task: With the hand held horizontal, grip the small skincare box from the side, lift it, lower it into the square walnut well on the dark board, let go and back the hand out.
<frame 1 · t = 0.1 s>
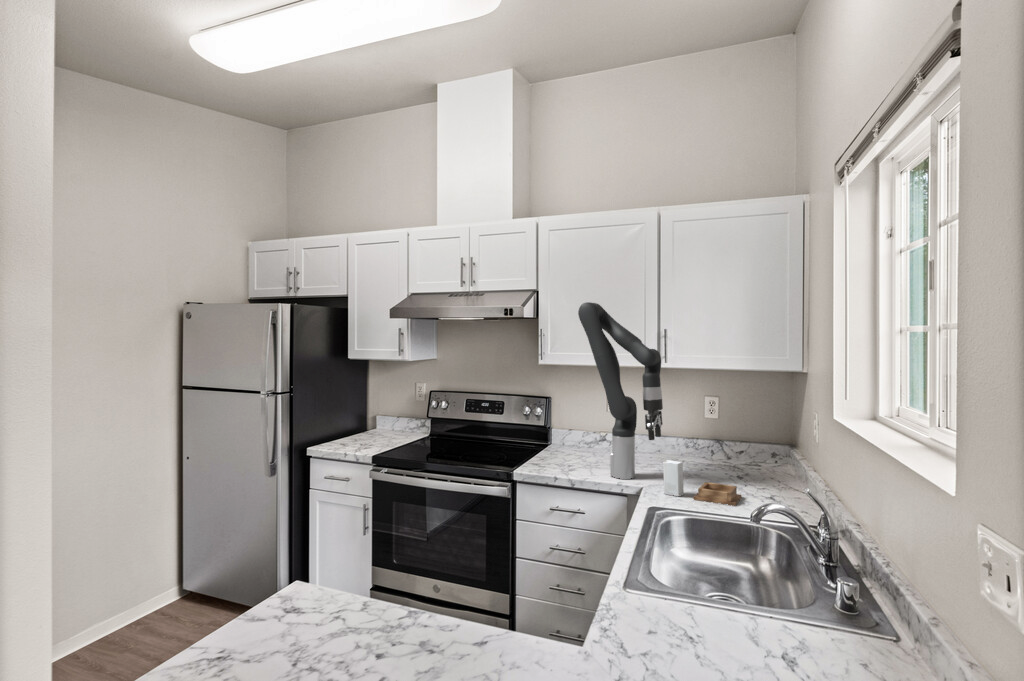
hand: (655, 438, 222), 17 cm above the counter, tool pointing down, fingers open, 8 cm apart
walnut well board: (717, 498, 198), on the counter
skincare box: (673, 495, 204), on the counter
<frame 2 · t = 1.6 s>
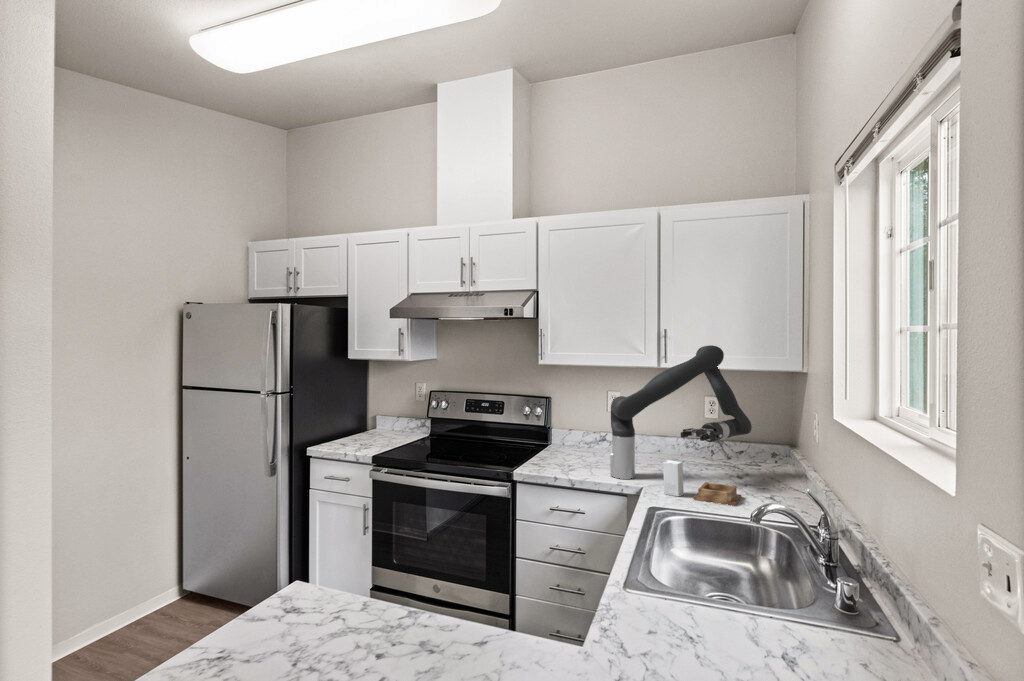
hand: (691, 436, 210), 20 cm above the counter, tool horizontal, fingers open, 8 cm apart
nothing on the counter moved.
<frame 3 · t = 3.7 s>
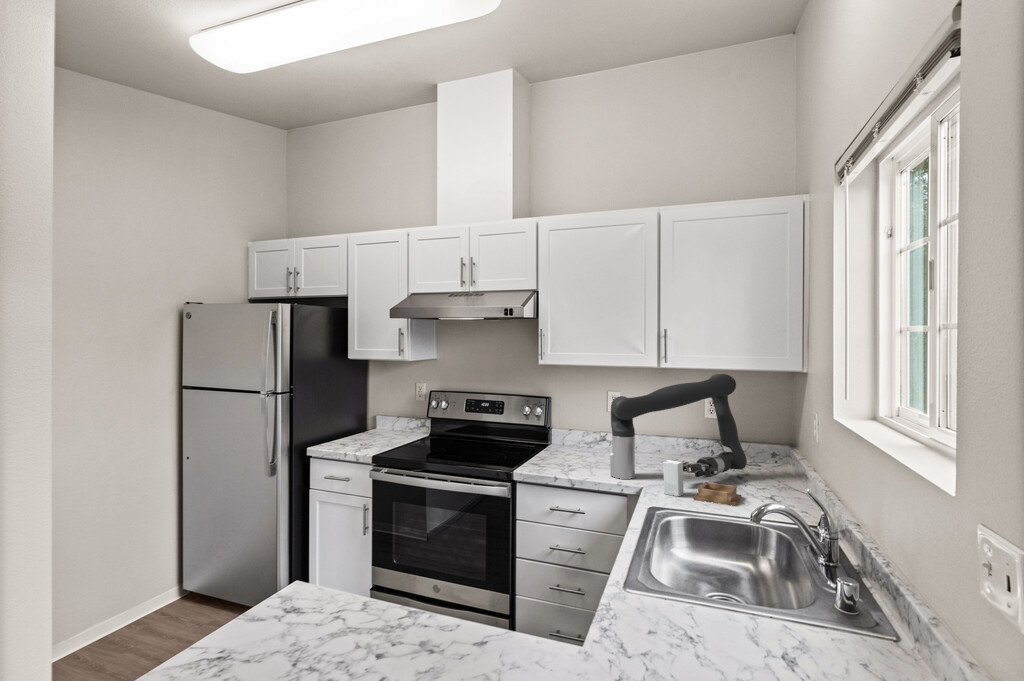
hand: (685, 472, 208), 7 cm above the counter, tool horizontal, fingers open, 8 cm apart
nothing on the counter moved.
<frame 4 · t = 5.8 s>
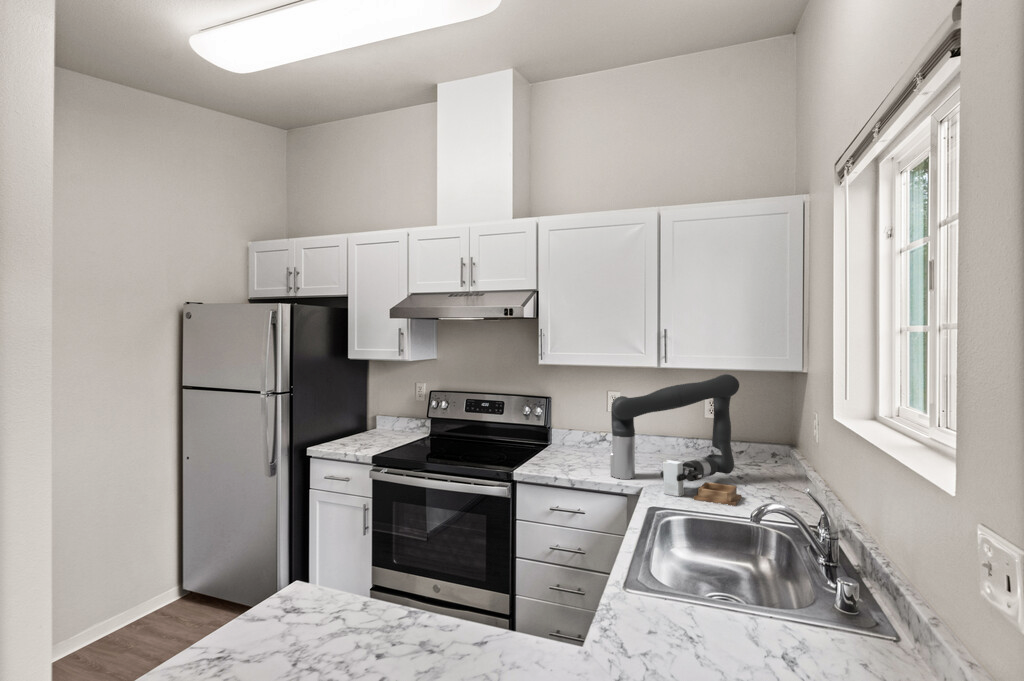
hand: (669, 476, 202), 7 cm above the counter, tool horizontal, fingers closed on skincare box, 6 cm apart
skincare box: (673, 495, 203), on the counter, touching gripper
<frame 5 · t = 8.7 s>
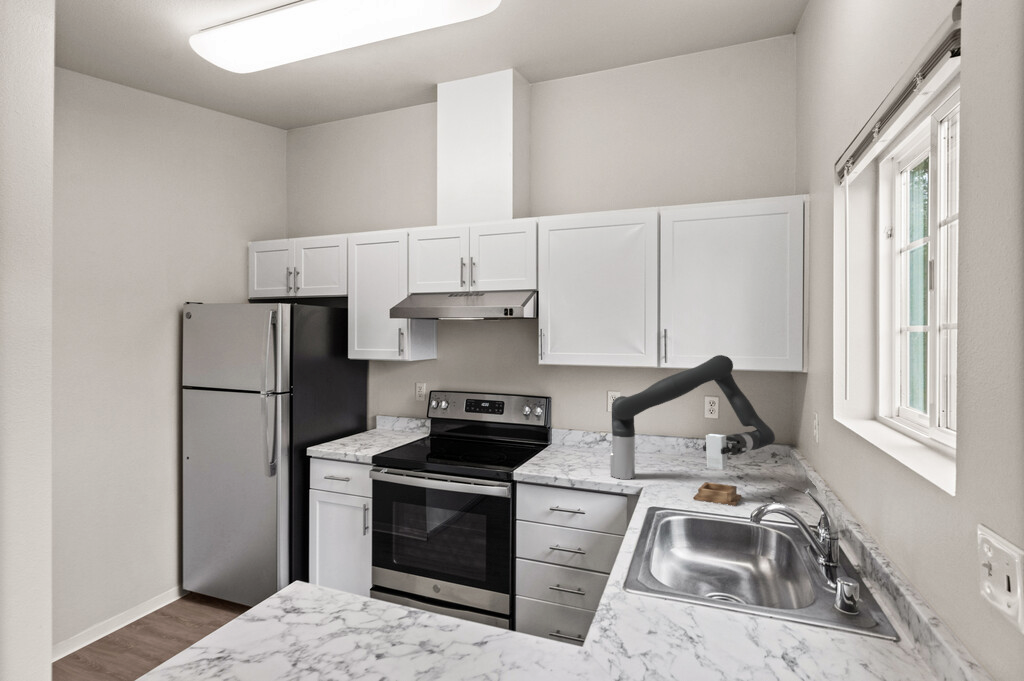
hand: (712, 449, 197), 18 cm above the counter, tool horizontal, fingers closed on skincare box, 6 cm apart
skincare box: (716, 469, 198), point 11 cm above the counter, touching gripper
when the fingers open (9 cm above the counter, at t = 11.4 s): skincare box drops 1 cm, resting on walnut well board.
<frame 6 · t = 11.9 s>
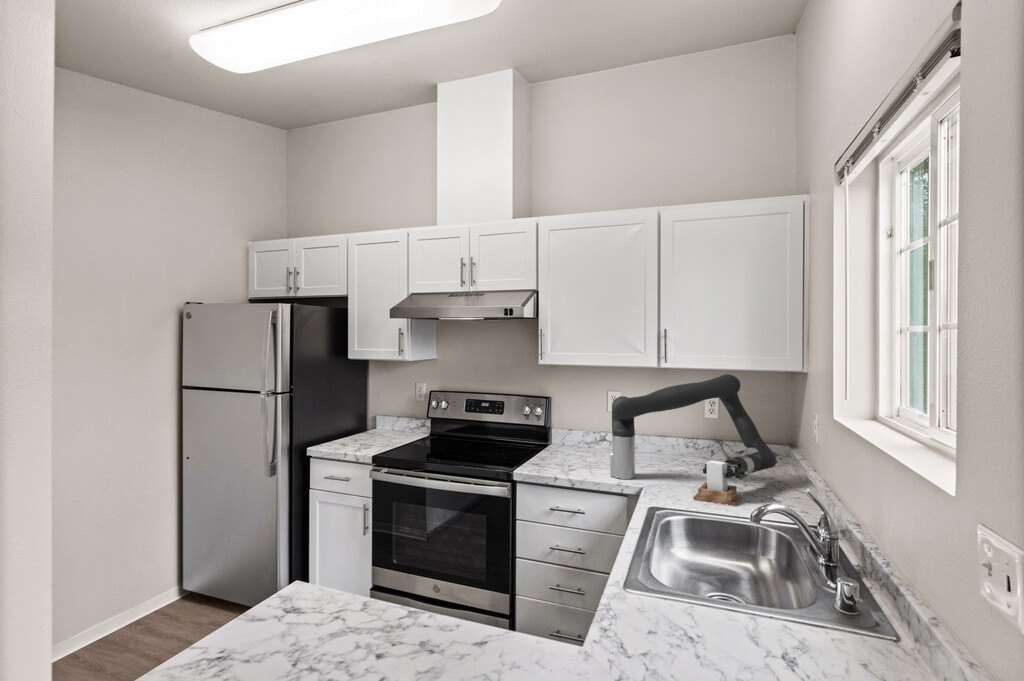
hand: (714, 473, 197), 10 cm above the counter, tool horizontal, fingers open, 8 cm apart
skincare box: (717, 496, 198), point 1 cm above the counter, touching walnut well board
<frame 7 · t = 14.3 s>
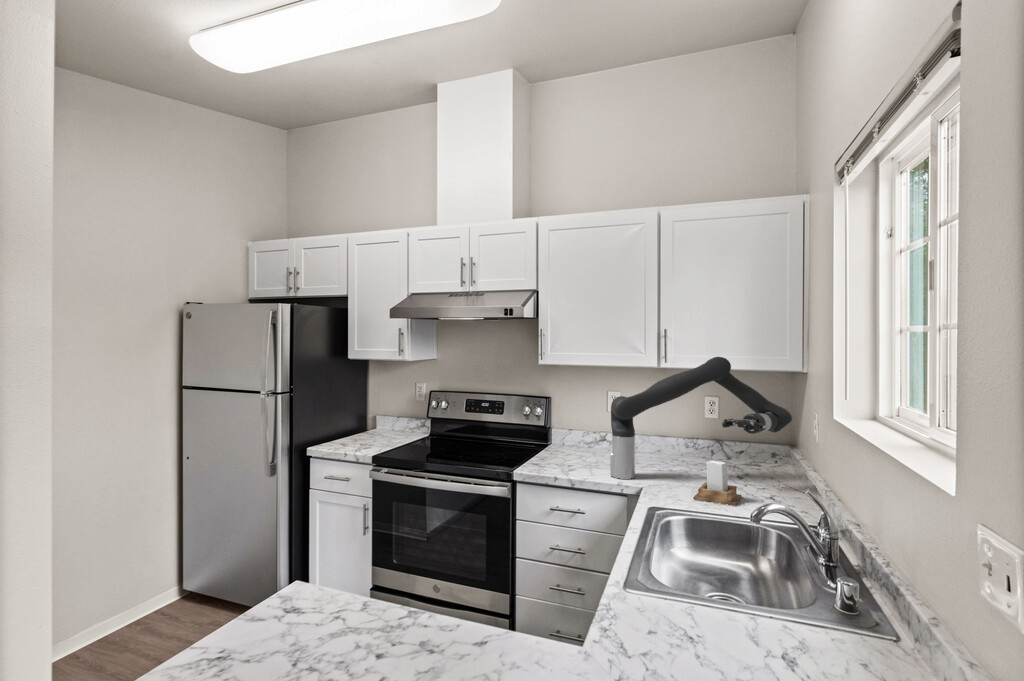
hand: (733, 426, 205), 25 cm above the counter, tool horizontal, fingers open, 8 cm apart
nothing on the counter moved.
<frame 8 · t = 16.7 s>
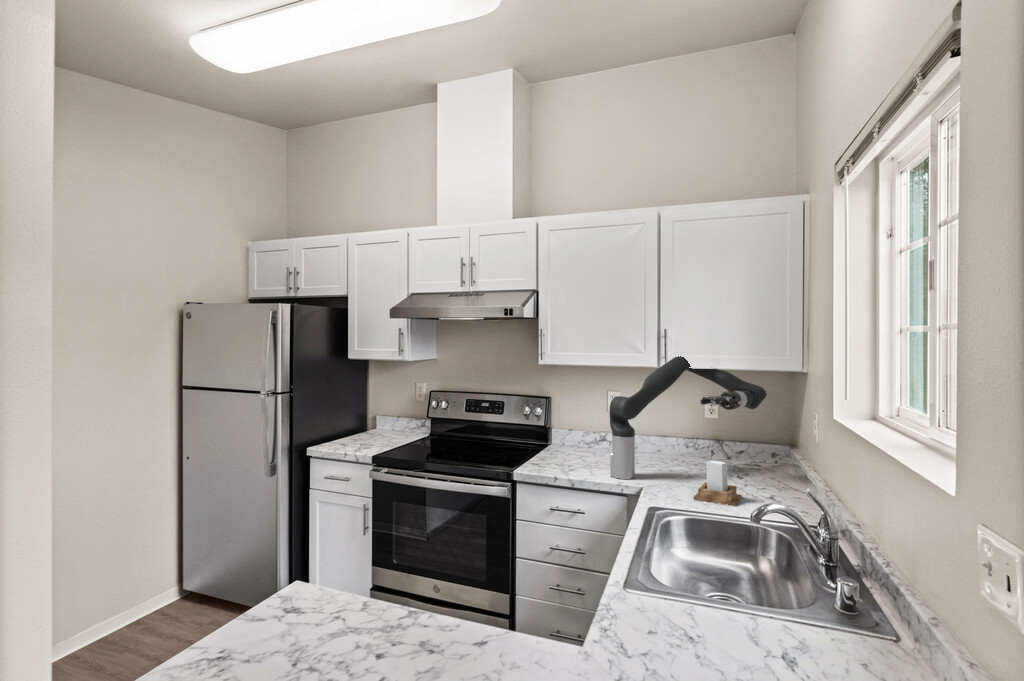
hand: (711, 402, 219), 32 cm above the counter, tool horizontal, fingers open, 8 cm apart
nothing on the counter moved.
at the end: skincare box inside the target area on the walnut well board (0.3 cm from its centre), point 0.8 cm above the walnut well board's base; skincare box tilted 0°; the gripper is holding nothing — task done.
